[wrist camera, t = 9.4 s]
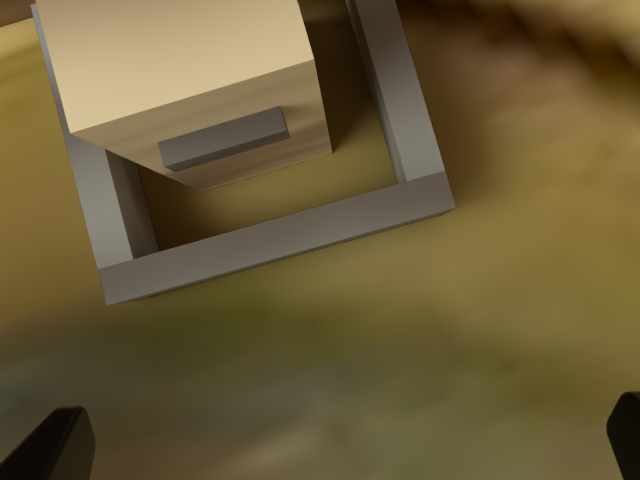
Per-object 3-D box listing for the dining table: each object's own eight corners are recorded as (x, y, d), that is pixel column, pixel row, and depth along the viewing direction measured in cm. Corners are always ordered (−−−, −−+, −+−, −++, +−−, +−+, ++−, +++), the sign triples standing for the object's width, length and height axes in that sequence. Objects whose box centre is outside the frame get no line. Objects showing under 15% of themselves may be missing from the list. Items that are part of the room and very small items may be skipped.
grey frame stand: (562, 181, 19) (805, 89, 9) (28, 331, 20) (-311, 404, 10) (460, -151, 19) (576, -595, 9) (-51, 10, 20) (-443, -233, 10)
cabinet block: (336, 169, 19) (322, 88, 10) (205, 207, 19) (77, 162, 10) (295, 23, 19) (245, -181, 10) (166, 63, 20) (8, -103, 11)
